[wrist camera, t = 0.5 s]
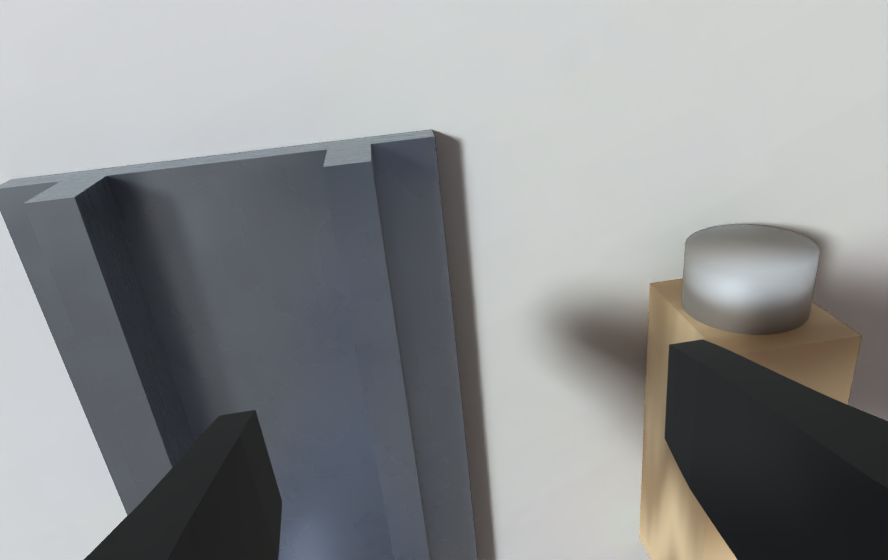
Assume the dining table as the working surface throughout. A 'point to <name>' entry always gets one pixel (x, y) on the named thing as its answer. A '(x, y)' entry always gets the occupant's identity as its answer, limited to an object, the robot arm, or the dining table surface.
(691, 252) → the block
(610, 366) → the dining table surface
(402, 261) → the cradle
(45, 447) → the dining table surface
